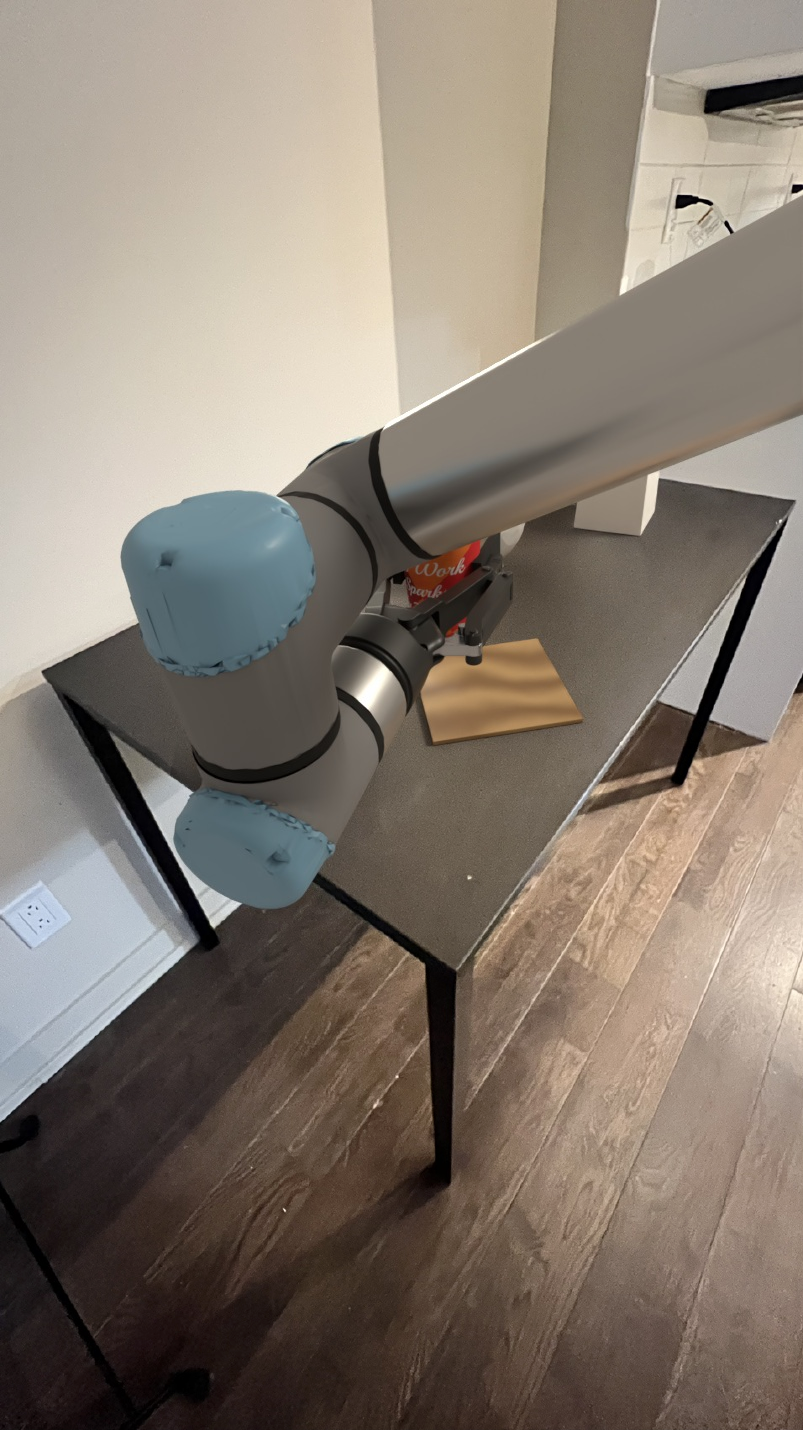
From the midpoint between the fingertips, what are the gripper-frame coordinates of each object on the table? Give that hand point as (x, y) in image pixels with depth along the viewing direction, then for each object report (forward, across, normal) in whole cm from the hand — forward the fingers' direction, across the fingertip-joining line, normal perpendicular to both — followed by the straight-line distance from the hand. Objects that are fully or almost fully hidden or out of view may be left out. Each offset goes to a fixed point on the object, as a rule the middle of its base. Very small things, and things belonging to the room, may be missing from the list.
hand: (457, 541), depth 57 cm
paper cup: (-5, 0, -8) cm, 9 cm away
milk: (+67, +10, -25) cm, 72 cm away
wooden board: (+11, 0, -25) cm, 27 cm away
